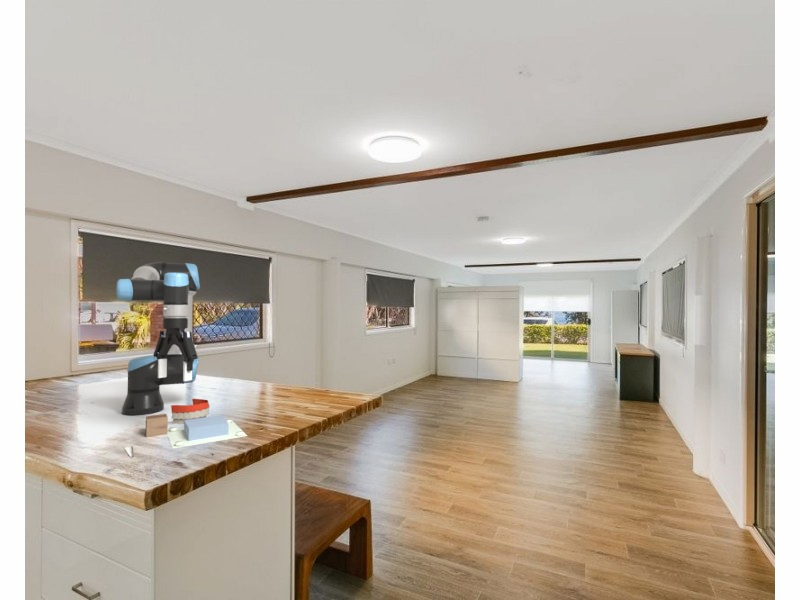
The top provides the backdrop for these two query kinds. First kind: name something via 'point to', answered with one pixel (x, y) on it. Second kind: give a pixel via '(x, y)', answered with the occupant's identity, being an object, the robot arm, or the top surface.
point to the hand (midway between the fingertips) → (174, 379)
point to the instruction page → (129, 451)
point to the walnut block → (156, 425)
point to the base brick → (205, 427)
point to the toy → (190, 411)
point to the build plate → (180, 439)
